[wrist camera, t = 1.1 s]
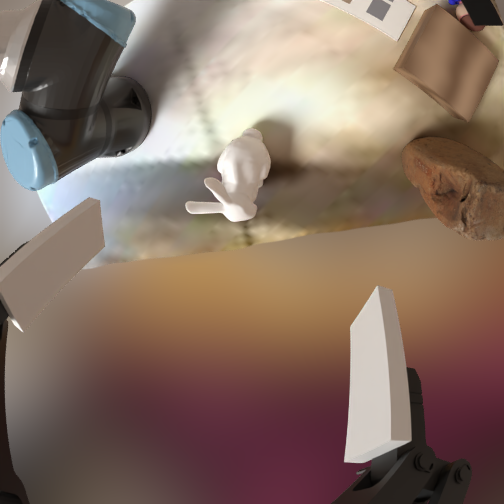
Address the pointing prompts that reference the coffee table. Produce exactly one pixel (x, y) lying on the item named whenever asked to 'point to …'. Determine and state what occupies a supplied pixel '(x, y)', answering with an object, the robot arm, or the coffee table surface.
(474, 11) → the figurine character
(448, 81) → the tower base
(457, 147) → the block
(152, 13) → the coffee table surface
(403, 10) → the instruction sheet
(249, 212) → the rabbit
